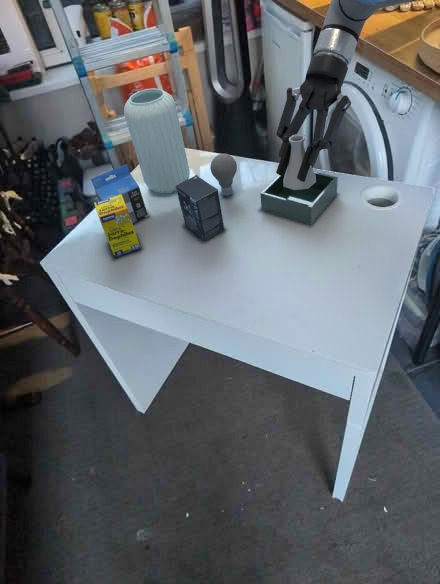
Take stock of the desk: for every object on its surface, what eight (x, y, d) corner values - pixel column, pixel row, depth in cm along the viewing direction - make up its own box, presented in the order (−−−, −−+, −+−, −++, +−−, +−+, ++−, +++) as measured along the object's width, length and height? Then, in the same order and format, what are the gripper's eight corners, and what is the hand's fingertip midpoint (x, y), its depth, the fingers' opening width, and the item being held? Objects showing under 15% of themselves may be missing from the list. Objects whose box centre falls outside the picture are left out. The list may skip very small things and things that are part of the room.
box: (184, 225, 97) (174, 185, 89) (205, 214, 98) (197, 174, 91) (204, 242, 92) (195, 200, 84) (225, 230, 94) (218, 188, 86)
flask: (278, 189, 93) (273, 145, 86) (288, 172, 97) (285, 129, 90) (311, 192, 90) (309, 147, 83) (320, 174, 94) (319, 129, 87)
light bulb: (235, 202, 100) (230, 163, 93) (211, 199, 102) (204, 161, 95) (243, 187, 104) (239, 149, 97) (220, 185, 106) (214, 147, 99)
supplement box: (115, 259, 92) (98, 217, 84) (109, 243, 96) (93, 202, 88) (142, 249, 93) (127, 207, 85) (135, 234, 97) (121, 193, 89)
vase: (196, 172, 112) (179, 83, 96) (184, 198, 104) (163, 106, 88) (155, 172, 114) (131, 85, 99) (140, 197, 107) (112, 108, 91)
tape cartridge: (114, 233, 98) (95, 186, 89) (107, 225, 101) (89, 179, 92) (148, 217, 101) (134, 170, 92) (141, 209, 103) (127, 163, 94)
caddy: (336, 194, 97) (338, 177, 94) (310, 225, 91) (311, 207, 88) (288, 182, 103) (288, 165, 100) (261, 210, 97) (260, 193, 94)
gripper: (376, 75, 84) (334, 191, 88) (298, 66, 93) (262, 173, 96) (368, 55, 78) (323, 182, 82) (285, 48, 86) (247, 163, 90)
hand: (290, 177), depth 89 cm, fingers closed on flask, 4 cm apart
